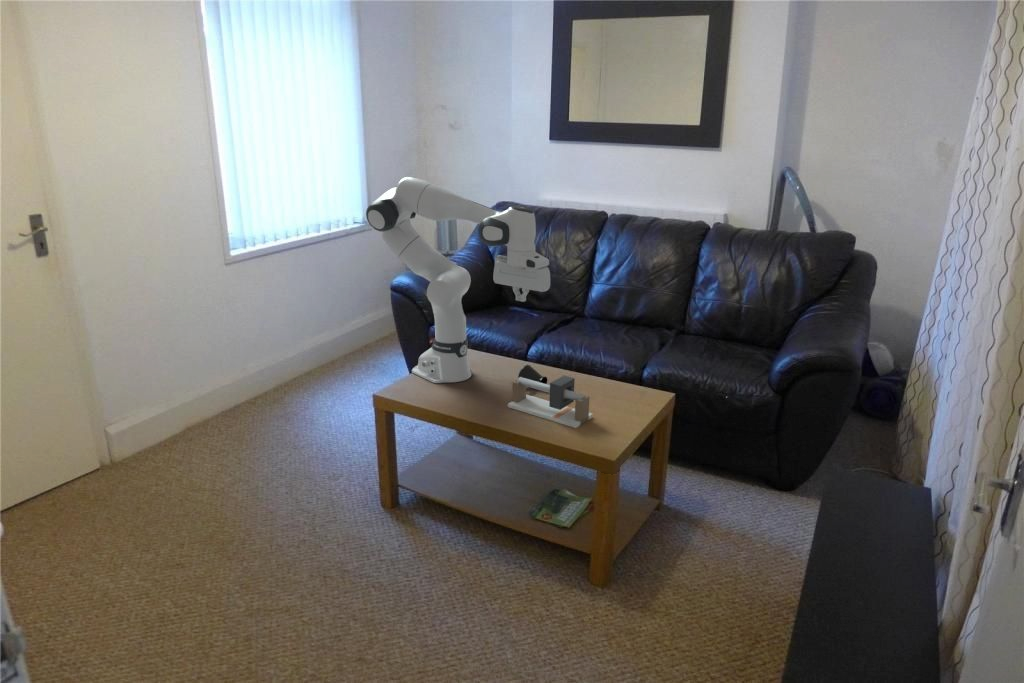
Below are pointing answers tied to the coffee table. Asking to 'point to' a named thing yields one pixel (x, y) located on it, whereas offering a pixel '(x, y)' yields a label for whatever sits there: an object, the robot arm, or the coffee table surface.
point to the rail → (541, 406)
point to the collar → (560, 392)
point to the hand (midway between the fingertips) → (520, 300)
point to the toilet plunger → (531, 375)
